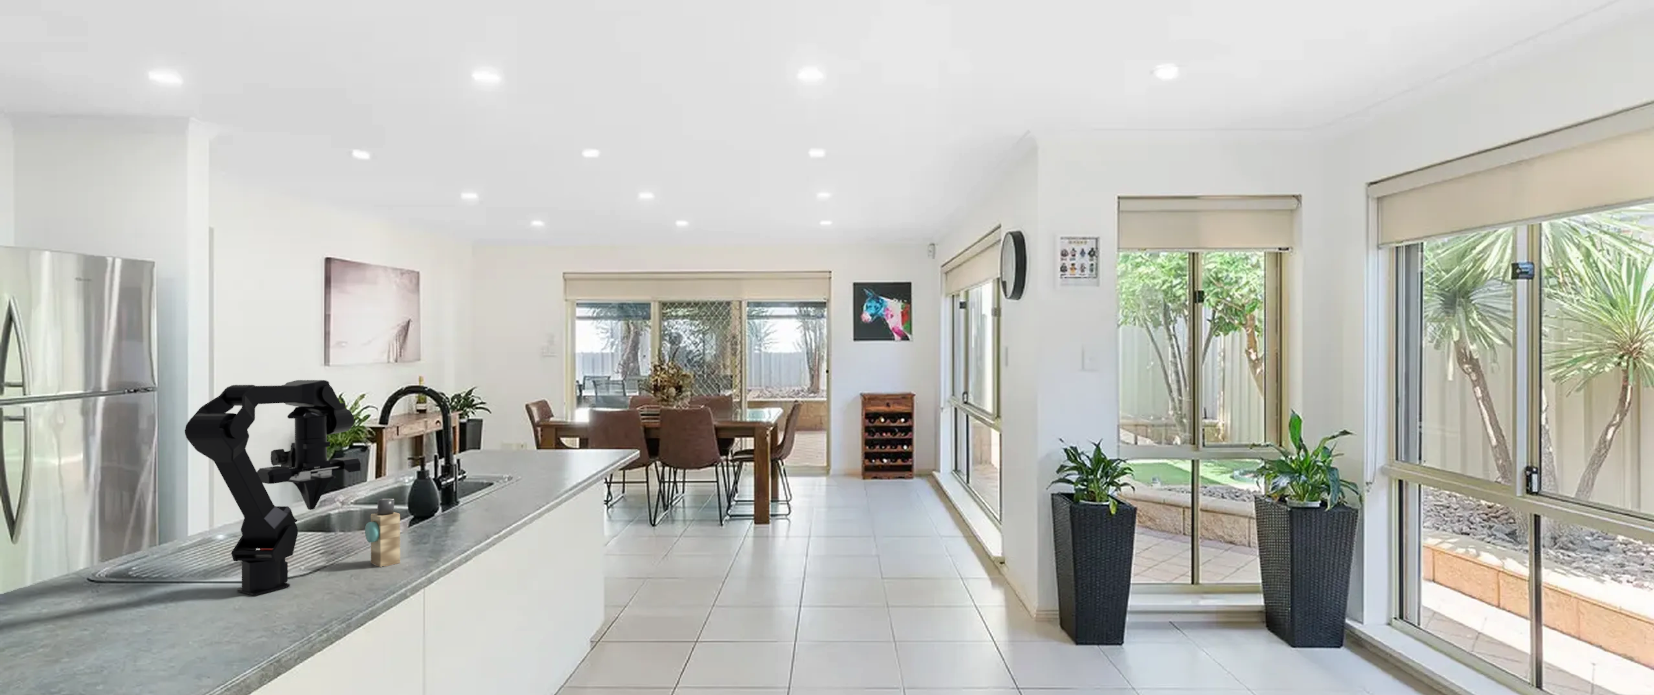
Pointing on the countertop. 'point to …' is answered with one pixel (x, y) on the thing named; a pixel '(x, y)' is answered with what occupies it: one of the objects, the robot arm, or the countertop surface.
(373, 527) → the knob
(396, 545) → the mount
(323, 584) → the countertop surface
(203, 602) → the countertop surface
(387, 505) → the dial
